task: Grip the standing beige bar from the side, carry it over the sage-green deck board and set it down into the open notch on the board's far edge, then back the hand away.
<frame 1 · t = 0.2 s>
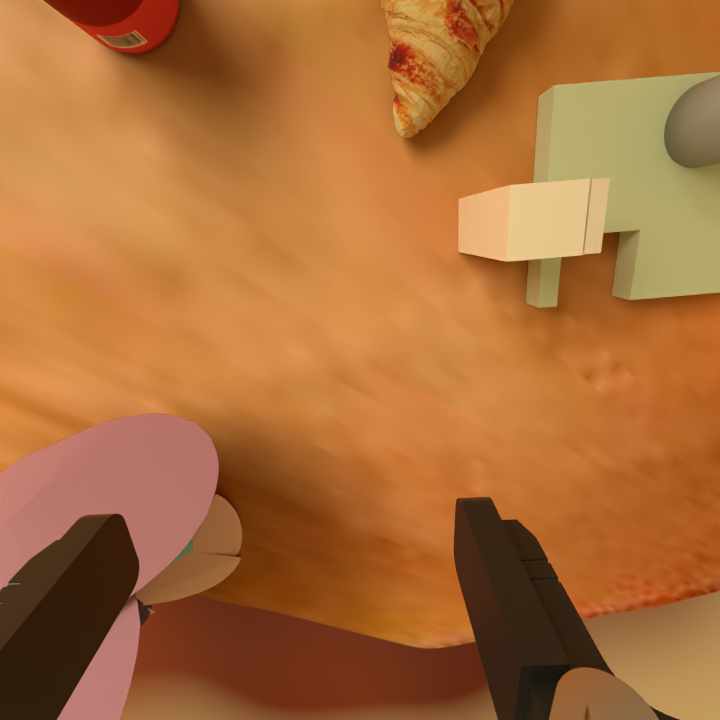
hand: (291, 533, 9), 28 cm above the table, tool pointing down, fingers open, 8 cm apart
deck: (632, 199, 34), on the table
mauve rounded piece: (158, 526, 44), on the table
beige bar: (486, 223, 34), on the table
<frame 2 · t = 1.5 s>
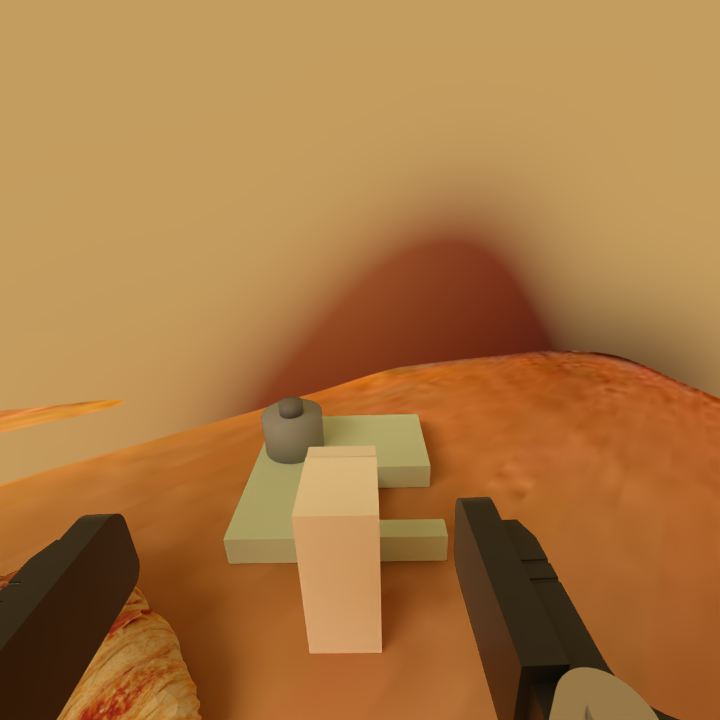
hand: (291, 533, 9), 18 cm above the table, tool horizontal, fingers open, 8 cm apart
deck: (342, 483, 38), on the table
croissant: (62, 686, 23), on the table
beige bar: (347, 613, 26), on the table
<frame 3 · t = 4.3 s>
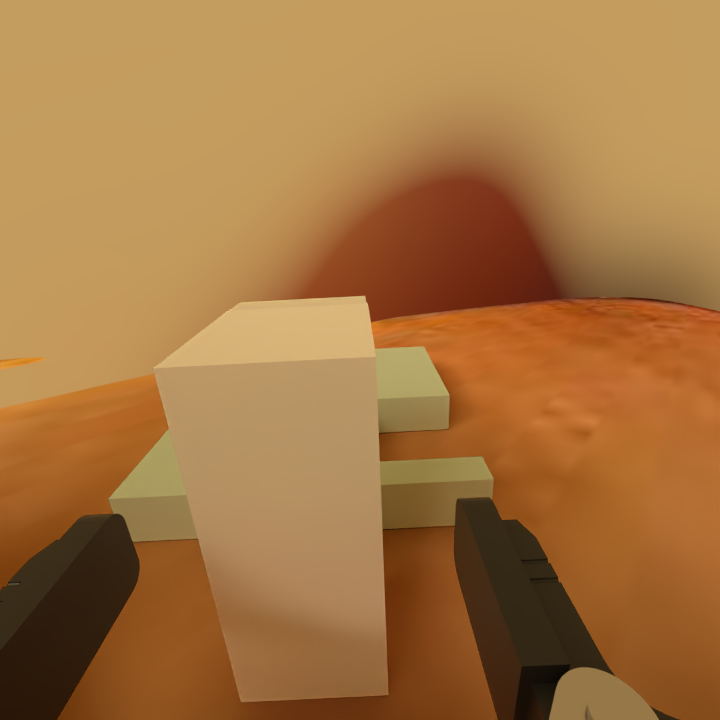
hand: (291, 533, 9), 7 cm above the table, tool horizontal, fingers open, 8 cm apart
deck: (321, 430, 26), on the table
beige bar: (321, 617, 14), on the table
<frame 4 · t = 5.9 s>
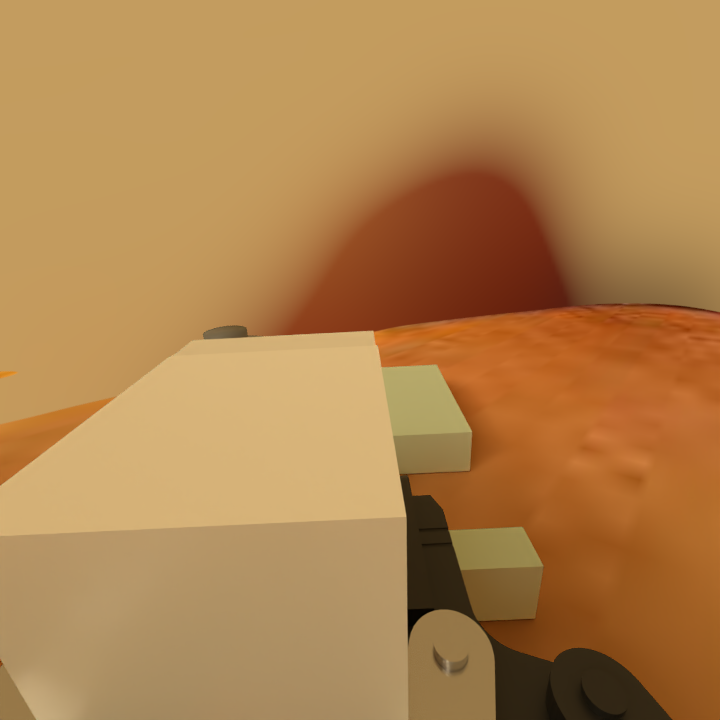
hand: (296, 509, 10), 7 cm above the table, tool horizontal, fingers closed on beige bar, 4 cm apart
deck: (318, 470, 22), on the table
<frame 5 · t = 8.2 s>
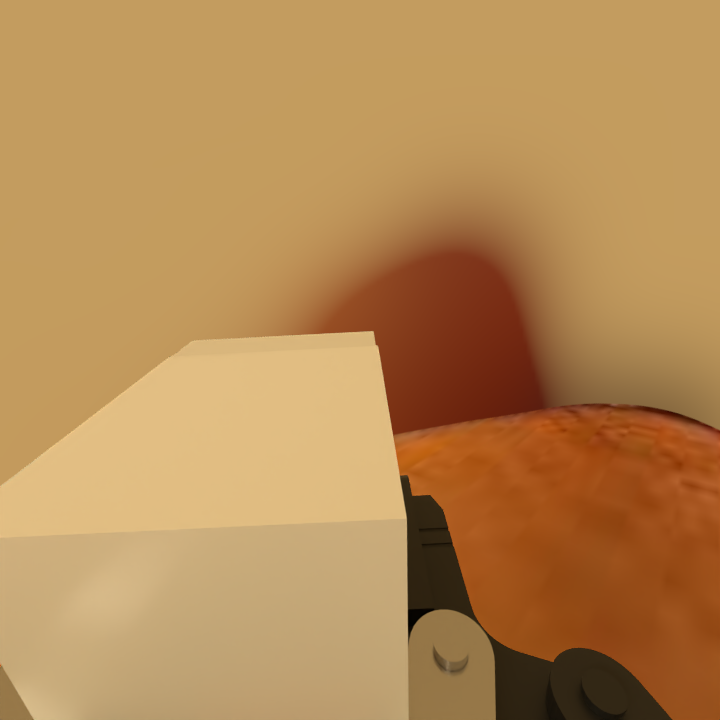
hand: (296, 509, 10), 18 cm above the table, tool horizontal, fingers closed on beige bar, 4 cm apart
when the fingers open (8 cm above the table, at t = 10.8 s): beige bar drops 2 cm, on the table.
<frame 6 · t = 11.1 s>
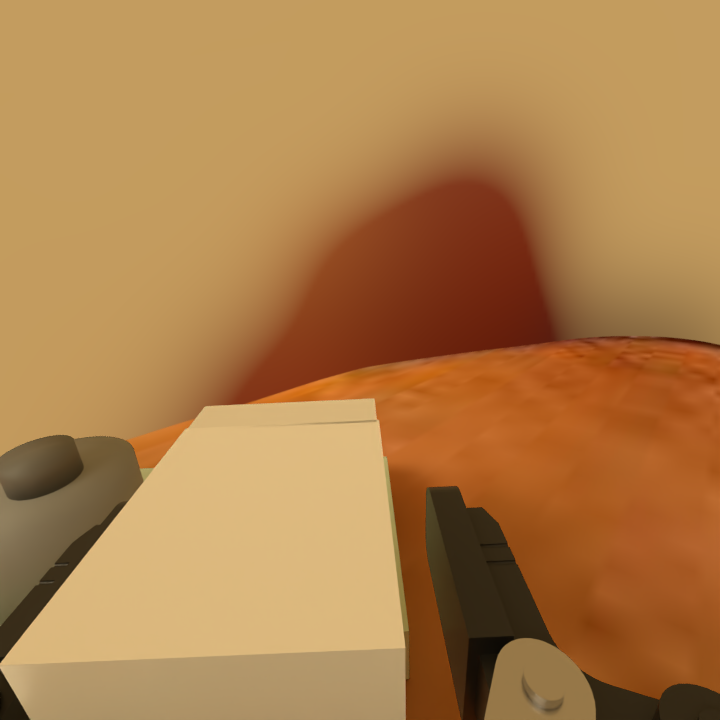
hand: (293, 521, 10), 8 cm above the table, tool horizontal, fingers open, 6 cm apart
deck: (178, 667, 14), on the table
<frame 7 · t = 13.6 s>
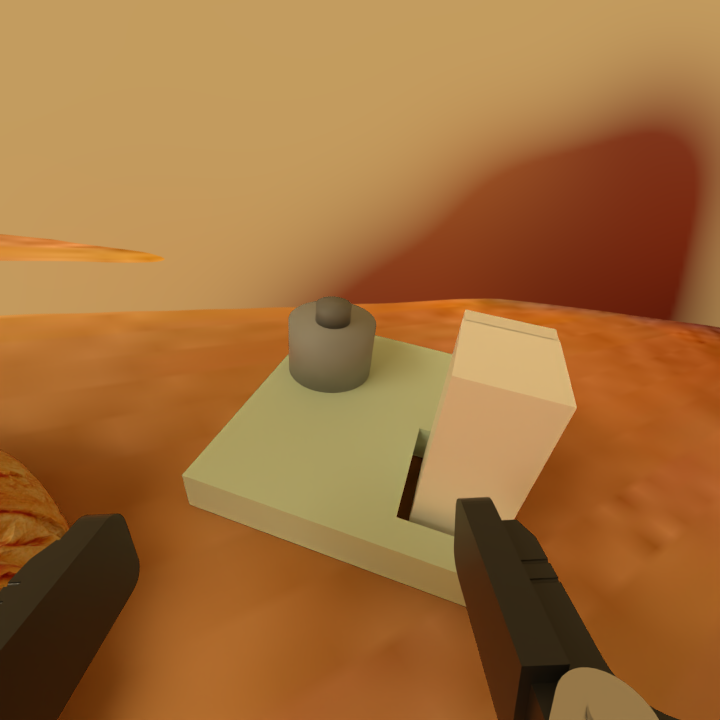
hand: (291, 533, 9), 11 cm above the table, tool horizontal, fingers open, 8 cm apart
deck: (379, 437, 27), on the table
beige bar: (450, 510, 22), on the table
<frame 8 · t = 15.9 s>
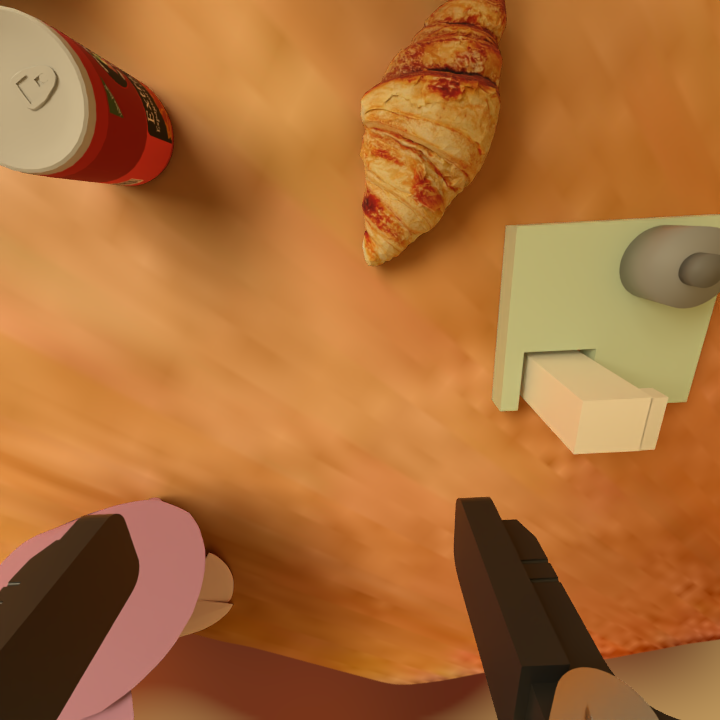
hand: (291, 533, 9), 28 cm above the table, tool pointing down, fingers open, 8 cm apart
deck: (592, 314, 36), on the table
canned food: (129, 134, 31), on the table
croissant: (417, 140, 31), on the table
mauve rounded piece: (157, 576, 48), on the table
beige bar: (543, 369, 38), on the table
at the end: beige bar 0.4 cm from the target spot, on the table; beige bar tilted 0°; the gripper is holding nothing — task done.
